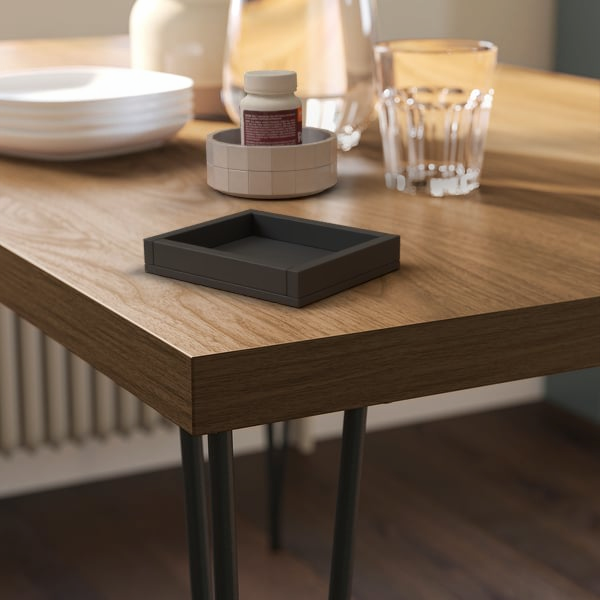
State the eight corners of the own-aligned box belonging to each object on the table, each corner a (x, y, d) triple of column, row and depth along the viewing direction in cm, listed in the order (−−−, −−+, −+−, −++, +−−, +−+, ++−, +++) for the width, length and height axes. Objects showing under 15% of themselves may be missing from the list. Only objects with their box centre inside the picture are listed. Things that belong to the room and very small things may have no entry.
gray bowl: (362, 183, 92) (362, 132, 91) (280, 207, 85) (280, 152, 84) (265, 168, 98) (264, 121, 97) (180, 189, 91) (178, 138, 90)
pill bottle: (313, 184, 90) (312, 73, 88) (255, 190, 88) (253, 77, 86) (288, 173, 94) (286, 67, 92) (232, 178, 93) (229, 70, 90)
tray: (400, 268, 69) (400, 235, 69) (298, 308, 62) (298, 271, 62) (251, 238, 76) (250, 208, 76) (144, 271, 69) (142, 238, 69)
